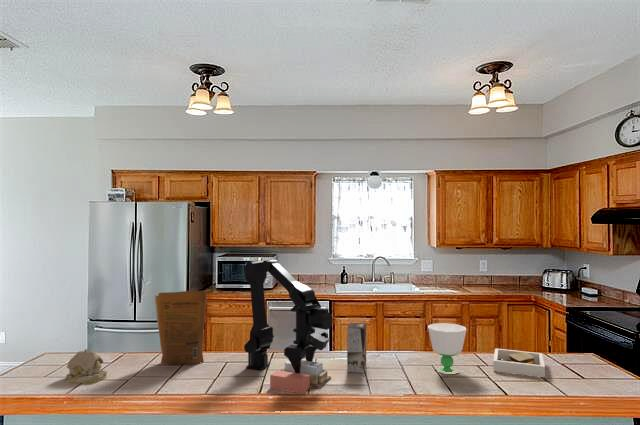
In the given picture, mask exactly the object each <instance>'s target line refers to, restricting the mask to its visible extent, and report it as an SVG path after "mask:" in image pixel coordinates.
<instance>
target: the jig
mask: <svg viewBox="0 0 640 425" xmlns="http://www.w3.org/2000/svg"><path fill="white" fill-rule="evenodd" d="M280 371H285V366H284V367H283V368H281V369H280ZM285 372H290V371H285ZM331 378H332V376H331V375H328V370H326V368H323V373H321V374H320V375H319V381H318V376H317V375H310V388H315V389H320V388H322V387H323V386H324V385H325V384H326V383H327V382H329V381H330V380H331Z"/></svg>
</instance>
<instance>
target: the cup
mask: <svg viewBox="0 0 640 425" xmlns="http://www.w3.org/2000/svg"><path fill="white" fill-rule="evenodd" d="M427 329H428V334H429V339H430V344H431V347H432V351H434V353H436V354H438V355H440V356H442V357H441V358H440V364H441V366H444V368H441V369H440V370H442V371H445V372H452V371H454V370H453V369H451V368H450V367H453V365H454V359H453V357H454V356H458V355H460V354H461V353H462V351H463V348H464V343H465V338H466V333H467V327H465V326H464V325H460V324H456V323H449V322H448V323H447V322H446V323H444V322H438V323H431V324H429V325H427Z"/></svg>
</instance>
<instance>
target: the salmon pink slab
mask: <svg viewBox="0 0 640 425" xmlns="http://www.w3.org/2000/svg"><path fill="white" fill-rule="evenodd" d="M269 383H270V384H269V385H270V386H269V388H270V389H273V390H279V391H285V392H292V393H297V394H304V393H306V392H307V391H308V390H309V389H310V388H311V387H310V375H305V374H299V373H292V372H285V371H281V370H276V371H274V372H273V373H271V374H269Z"/></svg>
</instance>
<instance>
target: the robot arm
mask: <svg viewBox="0 0 640 425" xmlns="http://www.w3.org/2000/svg"><path fill="white" fill-rule="evenodd" d="M243 271H244V277H245V280H246V282H247V283H248V285H249V286H250V287H249V288H250V298H251V299H250V300H251V312H252V313H251V314H252V326H251V328H250V331H249V340H248V341H247V342H246V343H245V344H244V345H243V348H244V352H245V353H248V354H247V355H248V357H247V359H248V360H247V362H248V364H247V365H246V366H245V368H246V369H251V370H257V371H261V370H262V371H263V369H265V368H266V367H268V366H269V365H270V364H269V363H268V360H269V358H268V357H269V355H268V350H269V349H271V345H272V343H273V341H274V338H275V336H274V328H273V326H269V325H270V324H268V322H267V313H266V312H267V311H266V310H267V309H266V300H265V299H266V298H265V289H264V287H265V286H264V284H265V281H266V280H267V276H268V275H267V273H269V274H270V275H271V276H272V277H273V278H274V280H276V281H277V282H278V283H279V284H280V285H281V286H282V287H283V288H284V289H285V290H286V291H287V293H288V296H289V299H290V300H291V302H292V303H293V305H294V306H293V307H292V308H290V311H291V312H294V313H295V328H293V329H292V330H293V332H294V333H295V339H294V340H293V344H289V345H288V346H286V347H285V348H284V349H283V355H284V357H286V358H287V359H288V361H290V363H291V365H292V367H293V369H294V371H295V373H299V374H300V369H301V360H303V359H304V358H305V361H311V362H314V357H315V354H316V352H317V351H318V350H319V351H323V350H324V349H326V348H327V345H328V343H329V342H330V340H329V339H330V338H329V333H328V332H326V330H329V329H331V327H332V324H333V317H332V314H331V313H330V310H329V308H326V307H325V308H322V306H321V304H320V302H319V300H318V299H317V296H316V292H315V290H313V289H312V288H311V287H309V286H308V285H306V284H304V283H301V282H299V281H298V280H297V279H296V278H295V277H293V276H292V275H291V274H290V273H289V272H288V270H287V269H285V268H284V267H283V266H282V265H281V264H280V262H279V260H276V259H269V260H265V261H263V260H254V261H247V262H246V263H245V265H244V267H243ZM316 329H320V330H325V331H323V332H321V333H320V332H318V333H317V332H316Z"/></svg>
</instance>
